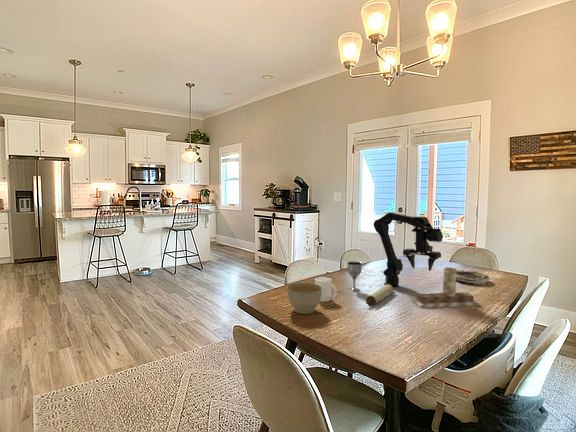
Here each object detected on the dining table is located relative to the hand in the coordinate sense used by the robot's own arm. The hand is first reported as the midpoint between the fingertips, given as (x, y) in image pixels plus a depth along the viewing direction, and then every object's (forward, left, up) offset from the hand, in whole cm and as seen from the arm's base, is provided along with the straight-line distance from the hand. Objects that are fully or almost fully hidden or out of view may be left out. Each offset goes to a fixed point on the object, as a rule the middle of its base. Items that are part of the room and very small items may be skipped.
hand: (421, 269), depth 180 cm
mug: (-53, -6, -13) cm, 55 cm away
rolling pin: (-25, -7, -13) cm, 29 cm away
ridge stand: (+4, -16, -13) cm, 21 cm away
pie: (+41, +19, -14) cm, 47 cm away
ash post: (+6, -16, -9) cm, 19 cm away
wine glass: (-34, +9, -13) cm, 38 cm away
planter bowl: (-66, -19, -13) cm, 70 cm away
